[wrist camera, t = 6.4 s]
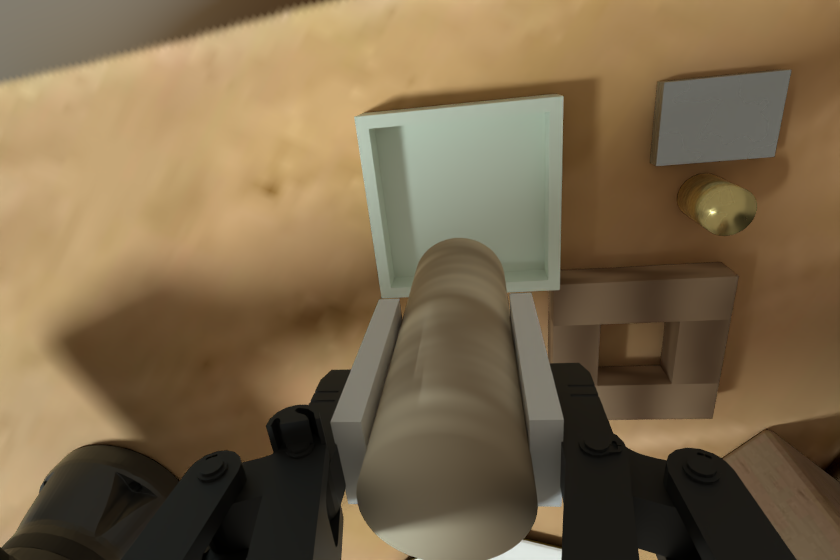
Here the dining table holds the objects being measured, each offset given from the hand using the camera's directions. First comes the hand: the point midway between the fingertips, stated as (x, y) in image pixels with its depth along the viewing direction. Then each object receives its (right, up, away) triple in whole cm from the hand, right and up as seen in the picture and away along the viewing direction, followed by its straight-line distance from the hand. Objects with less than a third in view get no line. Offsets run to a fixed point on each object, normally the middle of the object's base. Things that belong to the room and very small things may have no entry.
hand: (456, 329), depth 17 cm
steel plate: (+17, +12, +13) cm, 25 cm away
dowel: (0, +2, +4) cm, 4 cm away
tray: (+2, +8, +17) cm, 18 cm away
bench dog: (+18, +8, +15) cm, 24 cm away
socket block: (+15, -3, +20) cm, 25 cm away
